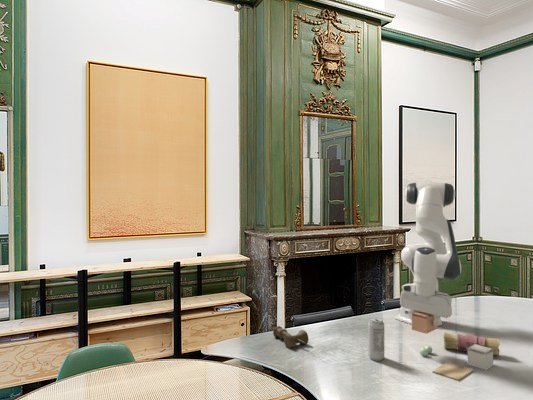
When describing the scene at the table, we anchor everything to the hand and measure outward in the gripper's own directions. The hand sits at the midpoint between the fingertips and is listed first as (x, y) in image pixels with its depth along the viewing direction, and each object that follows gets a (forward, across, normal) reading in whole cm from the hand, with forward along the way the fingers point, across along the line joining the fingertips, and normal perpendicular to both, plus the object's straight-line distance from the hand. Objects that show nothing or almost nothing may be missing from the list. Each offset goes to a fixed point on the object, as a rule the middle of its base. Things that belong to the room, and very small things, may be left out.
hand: (424, 323), depth 157 cm
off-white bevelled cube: (+12, -19, -6) cm, 23 cm away
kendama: (+13, +44, +32) cm, 56 cm away
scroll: (+13, -11, -16) cm, 23 cm away
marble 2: (+12, -1, -1) cm, 12 cm away
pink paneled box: (+2, 0, 0) cm, 2 cm away
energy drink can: (+12, +10, +19) cm, 24 cm away
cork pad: (+12, -15, +8) cm, 21 cm away
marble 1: (+12, -1, +2) cm, 12 cm away
